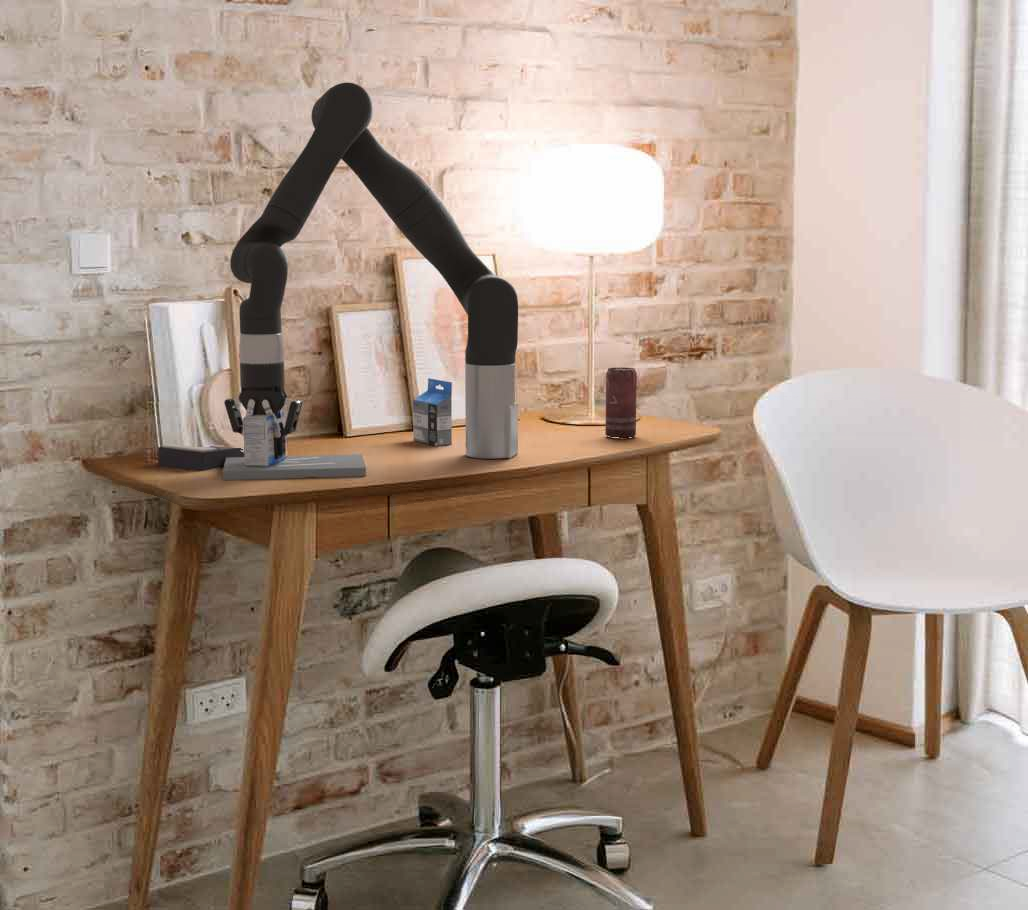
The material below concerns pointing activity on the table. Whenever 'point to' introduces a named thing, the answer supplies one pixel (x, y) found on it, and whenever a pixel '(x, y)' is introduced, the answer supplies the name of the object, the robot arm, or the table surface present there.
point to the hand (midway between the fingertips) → (265, 457)
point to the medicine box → (259, 441)
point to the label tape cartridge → (433, 414)
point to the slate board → (297, 467)
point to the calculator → (196, 456)
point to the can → (621, 402)
